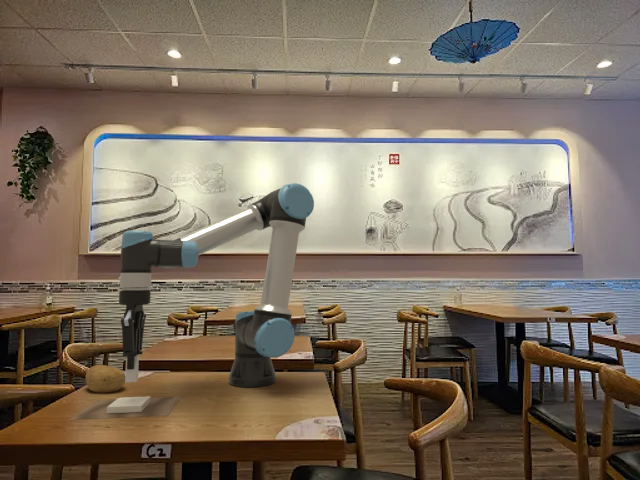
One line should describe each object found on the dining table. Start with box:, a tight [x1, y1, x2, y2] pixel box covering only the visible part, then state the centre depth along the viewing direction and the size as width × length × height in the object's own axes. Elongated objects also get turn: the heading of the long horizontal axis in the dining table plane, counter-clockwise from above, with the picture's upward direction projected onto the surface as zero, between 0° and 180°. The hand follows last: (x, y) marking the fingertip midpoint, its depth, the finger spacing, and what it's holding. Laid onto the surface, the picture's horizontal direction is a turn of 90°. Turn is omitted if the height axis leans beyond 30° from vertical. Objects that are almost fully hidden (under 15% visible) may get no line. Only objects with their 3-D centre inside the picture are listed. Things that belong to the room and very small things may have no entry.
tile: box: [107, 395, 152, 413], centre depth 103 cm, size 8×2×8 cm
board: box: [69, 396, 182, 421], centre depth 104 cm, size 22×16×1 cm
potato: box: [85, 364, 126, 394], centre depth 121 cm, size 10×14×8 cm
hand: (131, 381), depth 104 cm, fingers closed
